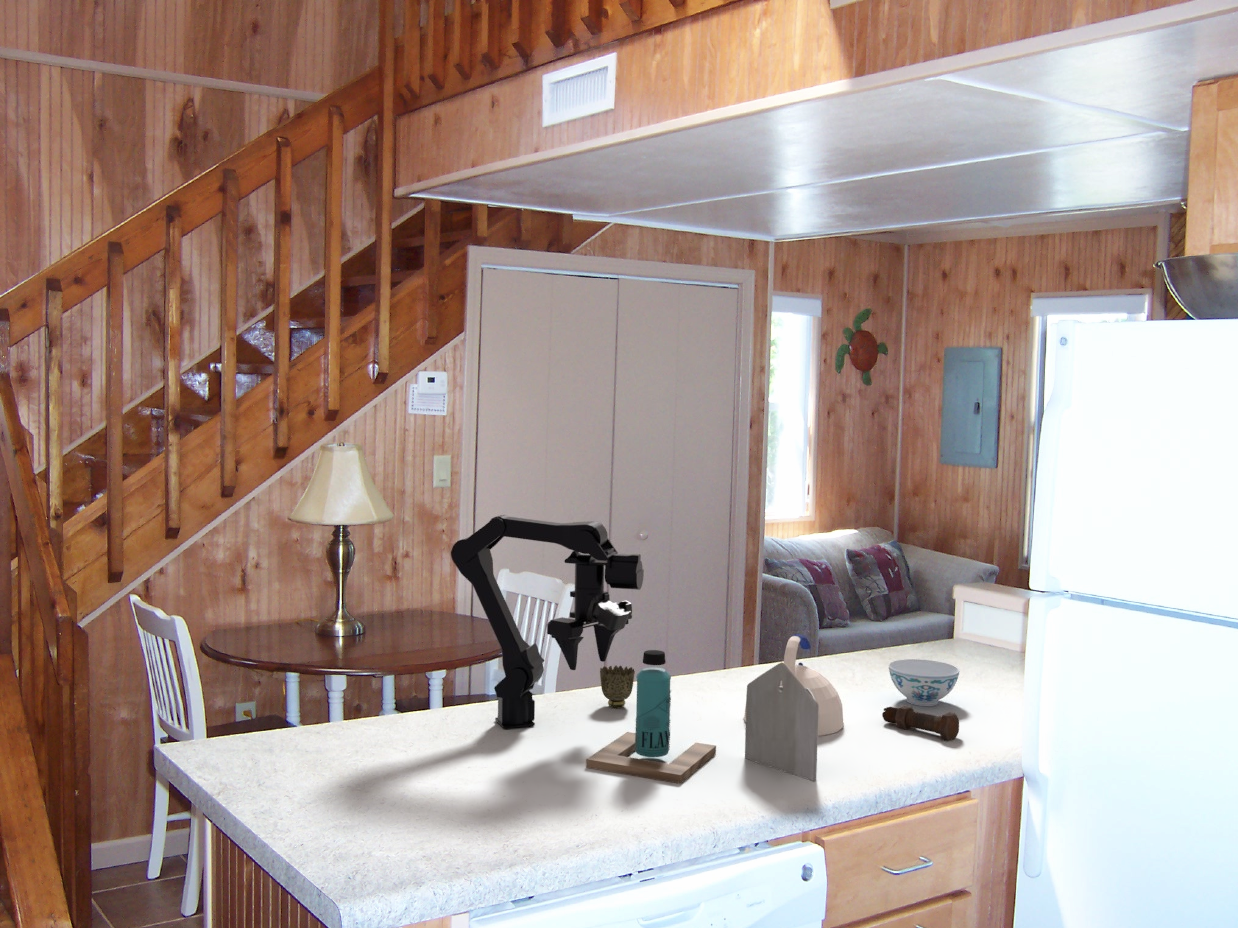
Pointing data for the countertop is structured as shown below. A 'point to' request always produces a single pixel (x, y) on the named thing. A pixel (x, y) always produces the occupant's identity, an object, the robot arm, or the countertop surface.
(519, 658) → the robot arm
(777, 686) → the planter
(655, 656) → the beverage bottle
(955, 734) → the bolt
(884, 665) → the countertop surface
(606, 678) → the cup
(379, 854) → the countertop surface
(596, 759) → the notched board
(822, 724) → the kettle
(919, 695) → the chinaware
